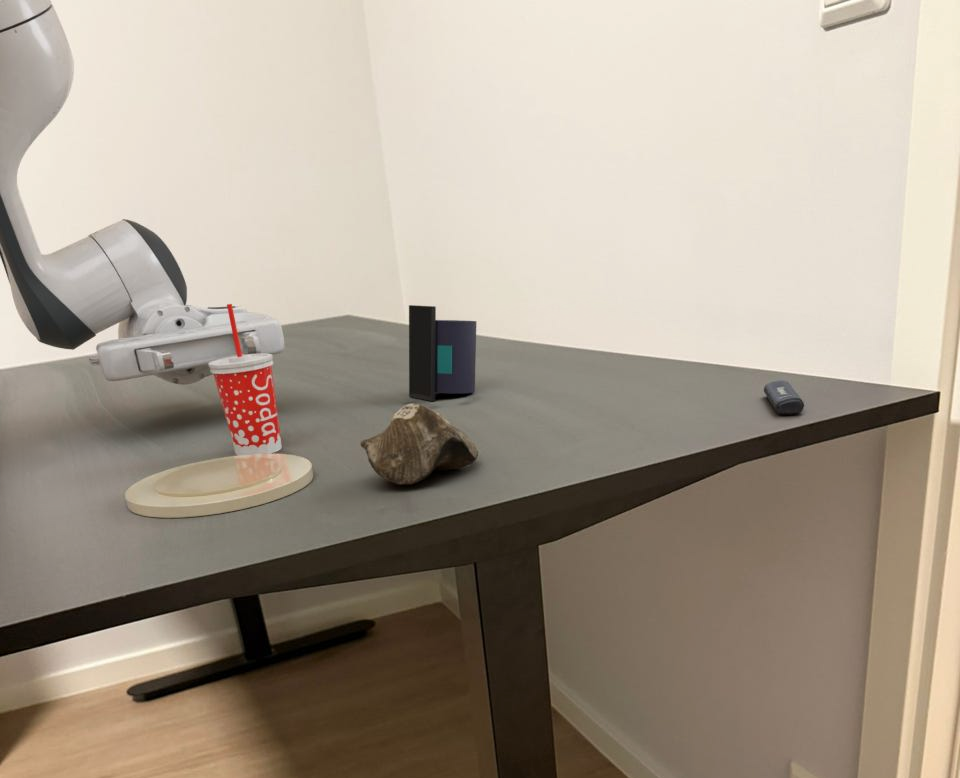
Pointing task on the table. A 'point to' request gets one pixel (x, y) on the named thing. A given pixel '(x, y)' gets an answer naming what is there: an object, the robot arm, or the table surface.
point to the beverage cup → (248, 398)
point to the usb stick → (783, 397)
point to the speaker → (440, 354)
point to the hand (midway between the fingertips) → (210, 353)
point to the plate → (219, 485)
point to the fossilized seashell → (418, 446)
